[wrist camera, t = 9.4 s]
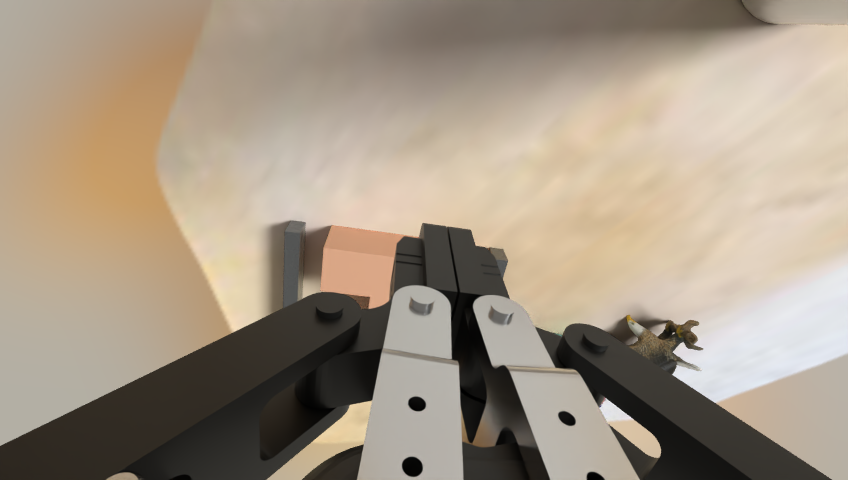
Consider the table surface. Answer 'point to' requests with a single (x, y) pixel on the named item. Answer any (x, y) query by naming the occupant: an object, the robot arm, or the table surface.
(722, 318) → the table surface
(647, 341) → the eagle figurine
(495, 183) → the table surface
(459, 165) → the table surface
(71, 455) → the robot arm
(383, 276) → the T-block
